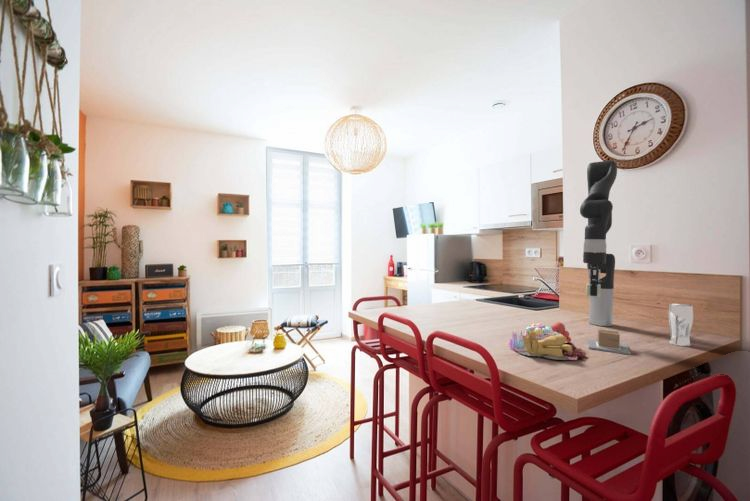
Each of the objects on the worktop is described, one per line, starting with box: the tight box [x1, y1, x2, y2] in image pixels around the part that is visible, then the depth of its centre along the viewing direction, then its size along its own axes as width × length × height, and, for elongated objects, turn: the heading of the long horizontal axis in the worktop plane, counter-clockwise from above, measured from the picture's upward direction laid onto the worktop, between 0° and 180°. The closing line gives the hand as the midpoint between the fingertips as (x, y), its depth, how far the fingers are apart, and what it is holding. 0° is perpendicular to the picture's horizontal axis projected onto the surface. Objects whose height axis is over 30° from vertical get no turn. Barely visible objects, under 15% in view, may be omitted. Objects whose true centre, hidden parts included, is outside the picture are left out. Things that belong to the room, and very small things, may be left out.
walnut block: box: [597, 328, 621, 349], centre depth 124 cm, size 6×6×5 cm
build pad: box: [587, 338, 632, 356], centre depth 124 cm, size 12×12×1 cm
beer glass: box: [668, 302, 694, 347], centre depth 130 cm, size 7×7×15 cm
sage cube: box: [585, 283, 601, 297], centre depth 135 cm, size 4×4×4 cm
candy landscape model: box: [508, 321, 587, 361], centre depth 120 cm, size 25×24×9 cm
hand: (593, 294), depth 135 cm, fingers closed on sage cube, 4 cm apart
